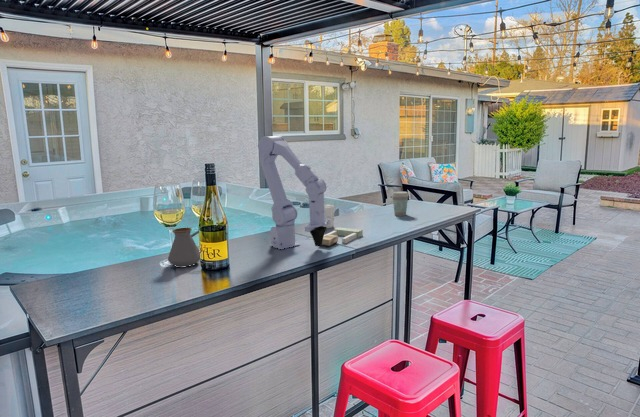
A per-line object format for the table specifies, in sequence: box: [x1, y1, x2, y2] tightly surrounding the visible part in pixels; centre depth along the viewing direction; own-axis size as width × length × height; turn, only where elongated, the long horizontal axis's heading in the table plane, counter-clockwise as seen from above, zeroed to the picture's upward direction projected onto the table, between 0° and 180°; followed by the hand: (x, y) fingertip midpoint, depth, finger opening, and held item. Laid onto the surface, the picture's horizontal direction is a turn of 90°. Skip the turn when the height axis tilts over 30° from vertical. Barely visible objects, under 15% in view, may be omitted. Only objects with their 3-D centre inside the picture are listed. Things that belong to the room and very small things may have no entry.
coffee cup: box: [391, 190, 409, 217], centre depth 223 cm, size 8×8×12 cm
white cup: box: [323, 204, 335, 229], centre depth 202 cm, size 8×8×10 cm
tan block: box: [320, 234, 339, 248], centre depth 172 cm, size 7×5×3 cm
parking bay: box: [324, 227, 363, 244], centre depth 181 cm, size 14×12×2 cm
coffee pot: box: [167, 227, 201, 266], centre depth 154 cm, size 21×12×15 cm, turn 128°
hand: (318, 245), depth 165 cm, fingers closed
